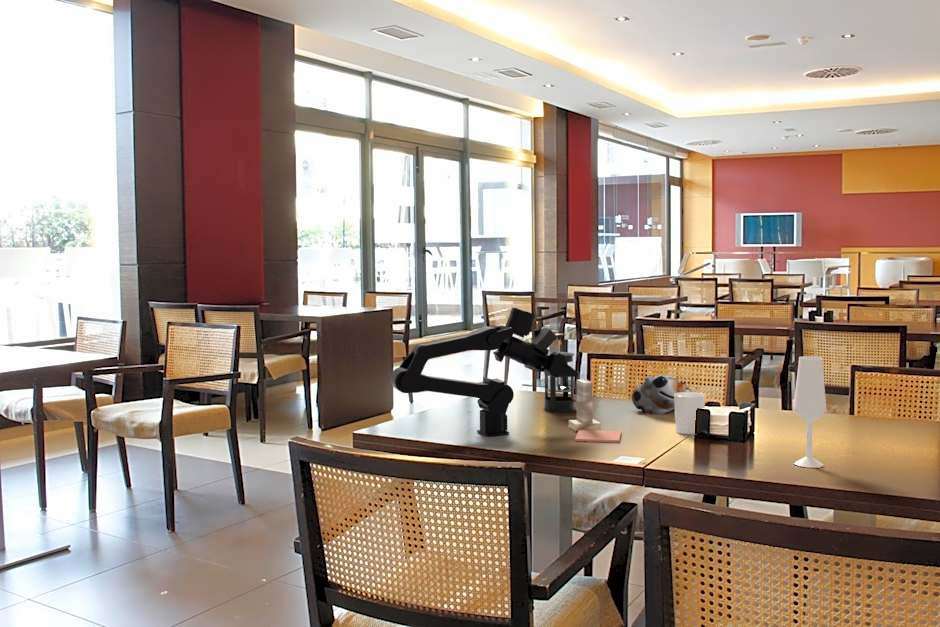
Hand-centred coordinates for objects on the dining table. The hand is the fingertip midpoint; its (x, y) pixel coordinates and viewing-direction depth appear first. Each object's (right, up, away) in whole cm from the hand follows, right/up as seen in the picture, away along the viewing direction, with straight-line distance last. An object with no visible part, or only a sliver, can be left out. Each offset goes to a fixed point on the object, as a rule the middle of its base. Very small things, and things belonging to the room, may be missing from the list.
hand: (570, 372), depth 240 cm
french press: (0, -13, +27) cm, 30 cm away
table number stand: (+4, -15, -1) cm, 16 cm away
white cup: (+30, -15, -7) cm, 35 cm away
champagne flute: (+48, -18, -43) cm, 67 cm away
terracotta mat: (+6, -16, -12) cm, 21 cm away
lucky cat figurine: (+29, -13, +22) cm, 39 cm away
